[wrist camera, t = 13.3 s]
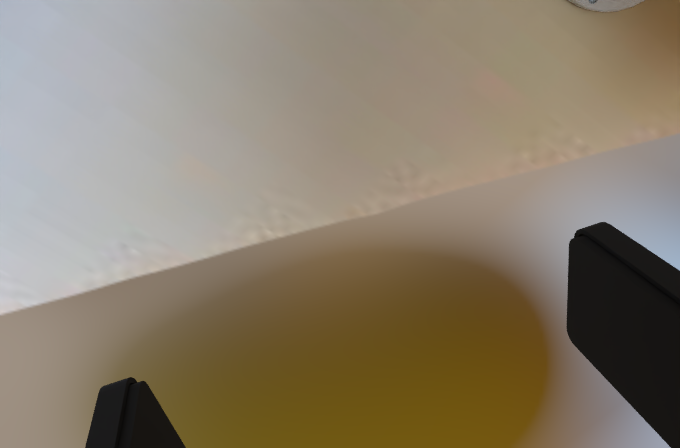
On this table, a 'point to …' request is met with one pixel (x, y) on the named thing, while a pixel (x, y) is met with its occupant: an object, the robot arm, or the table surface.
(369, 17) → the table surface
